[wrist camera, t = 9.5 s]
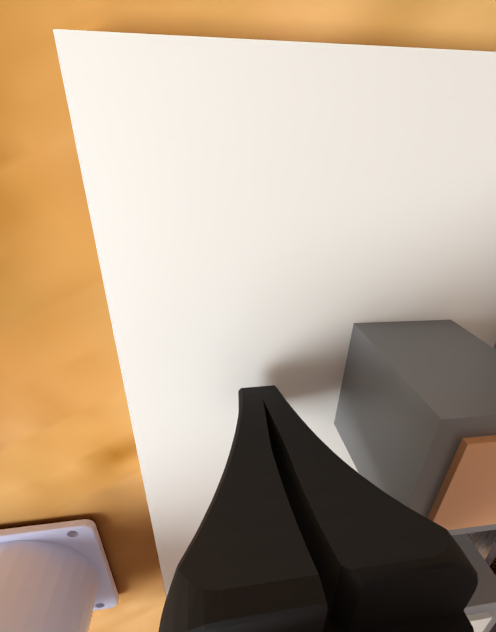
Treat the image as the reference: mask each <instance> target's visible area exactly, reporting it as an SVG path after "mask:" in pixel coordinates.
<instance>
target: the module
mask: <svg viewBox="0 0 496 632" xmlns="http://www.w3.org/2000/svg"><path fill="white" fill-rule="evenodd" d="M334 425H335V427H336V429H337V431H338V433H339V435H340V437H341V439H342V441H343V443H344V445H345V447H346V449H347V451H348V453H349V455H350V457H351V459H352V461H353V463H354V465H355V467H356V469H357V471H358V473H359V474H360V475H362V476H363V477H364V478H366V479H367V480H369V481H370V482H371V483H373V484H374V485H375V486H377V487H378V488H380V489H381V490H382V491H384V492H385V493H387V494H388V495H390V496H391V497H393V498H394V499H396V500H397V501H399V502H401V503H402V504H404V505H405V506H407V507H409V508H410V509H412V510H414V511H415V512H417V513H419V514H421V515H422V516H424V517H426V518H428V519H430V520H431V521H433V522H435V523H437V524H438V525H440V526H442V527H444V528H445V529H447V530H448V532H449V533H450V534H451V535H459V534H466V533H473V532H481V531H488V530H496V349H494V348H493V347H491V346H490V345H488V344H487V343H485V342H484V341H482V340H481V339H479V338H478V337H476V336H475V335H473V334H472V333H470V332H469V331H467V330H466V329H464V328H463V327H461V326H460V325H458V324H457V323H455V322H454V321H452V320H425V321H398V322H370V323H354V324H353V329H352V334H351V339H350V344H349V349H348V354H347V360H346V365H345V370H344V375H343V380H342V385H341V390H340V395H339V400H338V406H337V411H336V416H335V421H334Z"/></svg>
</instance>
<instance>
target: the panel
mask: <svg viewBox="0 0 496 632" xmlns="http://www.w3.org/2000/svg"><path fill="white" fill-rule="evenodd" d="M53 32H54V37H55V42H56V47H57V52H58V57H59V62H60V67H61V72H62V77H63V82H64V87H65V92H66V97H67V102H68V107H69V112H70V117H71V122H72V127H73V132H74V137H75V142H76V147H77V152H78V157H79V162H80V167H81V172H82V177H83V182H84V187H85V192H86V197H87V202H88V207H89V212H90V217H91V222H92V227H93V232H94V237H95V242H96V247H97V252H98V257H99V262H100V267H101V272H102V277H103V283H104V288H105V293H106V298H107V303H108V308H109V313H110V318H111V323H112V328H113V333H114V338H115V343H116V348H117V353H118V358H119V363H120V368H121V373H122V378H123V383H124V388H125V393H126V398H127V403H128V408H129V413H130V418H131V423H132V428H133V433H134V438H135V443H136V448H137V453H138V458H139V463H140V468H141V473H142V478H143V483H144V488H145V493H146V498H147V503H148V508H149V513H150V518H151V523H152V528H153V533H154V538H155V543H156V548H157V553H158V558H159V563H160V568H161V573H162V578H163V583H164V588H165V593H166V598H167V595H168V591H169V588H170V585H171V582H172V579H173V576H174V573H175V570H176V567H177V565H178V563H179V562H180V560H181V558H182V556H183V555H184V553H185V551H186V549H187V548H188V546H189V544H190V543H191V541H192V539H193V537H194V535H195V534H196V532H197V530H198V528H199V526H200V524H201V522H202V520H203V518H204V516H205V514H206V511H207V509H208V507H209V505H210V503H211V501H212V499H213V496H214V494H215V492H216V489H217V487H218V484H219V482H220V479H221V477H222V474H223V471H224V468H225V466H226V463H227V460H228V457H229V453H230V450H231V446H232V442H233V439H234V435H235V430H236V425H237V420H238V413H239V405H238V391H239V390H240V389H241V388H248V387H260V386H272V385H275V386H276V387H277V388H278V390H279V391H280V393H281V394H282V395H283V397H284V398H285V399H286V401H287V402H288V403H289V404H290V406H291V407H292V408H293V409H294V411H295V412H296V413H297V414H298V415H299V417H300V418H301V419H302V420H303V421H304V422H305V423H306V424H307V426H308V427H309V428H310V429H311V430H312V431H313V432H314V433H315V434H316V435H317V436H318V437H319V438H320V439H321V440H322V441H323V442H324V443H325V444H326V445H327V446H328V447H329V448H330V449H331V450H332V451H333V452H334V453H335V454H336V455H337V456H339V457H340V458H341V459H342V460H343V461H344V462H346V463H347V464H348V465H349V466H350V467H352V468H353V469H354V470H355V471H356V472H358V471H357V469H356V467H355V465H354V463H353V461H352V459H351V457H350V455H349V453H348V451H347V449H346V447H345V445H344V443H343V441H342V439H341V437H340V435H339V433H338V431H337V429H336V427H335V425H334V421H335V416H336V411H337V406H338V400H339V395H340V390H341V385H342V380H343V375H344V370H345V365H346V360H347V354H348V349H349V344H350V339H351V334H352V329H353V324H354V323H370V322H398V321H425V320H452V321H454V322H455V323H457V324H458V325H460V326H461V327H463V328H464V329H466V330H467V331H469V332H470V333H472V334H473V335H475V336H476V337H478V338H479V339H481V340H482V341H484V342H485V343H487V344H488V345H490V346H491V347H493V348H494V345H495V343H496V52H490V51H470V50H451V49H431V48H412V47H392V46H373V45H353V44H334V43H314V42H295V41H275V40H256V39H236V38H217V37H197V36H178V35H158V34H139V33H119V32H100V31H80V30H61V29H53Z"/></svg>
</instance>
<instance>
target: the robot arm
mask: <svg viewBox="0 0 496 632" xmlns="http://www.w3.org/2000/svg"><path fill="white" fill-rule="evenodd" d="M238 405H239V413H238V420H237V425H236V430H235V435H234V439H233V442H232V446H231V450H230V453H229V457H228V460H227V463H226V466H225V468H224V471H223V474H222V477H221V479H220V482H219V484H218V487H217V489H216V492H215V494H214V496H213V499H212V501H211V503H210V505H209V507H208V509H207V511H206V514H205V516H204V518H203V520H202V522H201V524H200V526H199V528H198V530H197V532H196V534H195V535H194V537H193V539H192V541H191V543H190V544H189V546H188V548H187V549H186V551H185V553H184V555H183V556H182V558H181V560H180V562H179V563H178V565H177V567H176V570H175V573H174V576H173V579H172V582H171V585H170V588H169V591H168V595H167V598H166V601H165V605H164V608H163V612H162V617H161V621H160V627H159V632H474V629H473V626H472V624H471V623H470V621H469V619H468V617H467V616H466V614H465V612H464V609H465V607H466V606H467V604H468V602H469V601H470V599H471V597H472V596H473V594H474V592H475V590H476V588H477V585H478V573H477V572H476V570H475V568H474V567H473V565H472V564H471V562H470V561H469V559H468V558H467V556H466V555H465V553H464V552H463V550H462V549H461V547H460V546H459V545H458V543H457V542H456V541H455V540H454V538H453V537H452V536H451V534H450V533H449V532H448V530H447V529H445V528H444V527H442V526H440V525H438V524H437V523H435V522H433V521H431V520H430V519H428V518H426V517H424V516H422V515H421V514H419V513H417V512H415V511H414V510H412V509H410V508H409V507H407V506H405V505H404V504H402V503H401V502H399V501H397V500H396V499H394V498H393V497H391V496H390V495H388V494H387V493H385V492H384V491H382V490H381V489H380V488H378V487H377V486H375V485H374V484H373V483H371V482H370V481H369V480H367V479H366V478H364V477H363V476H362V475H360V474H359V473H358V472H356V471H355V470H354V469H353V468H352V467H350V466H349V465H348V464H347V463H346V462H344V461H343V460H342V459H341V458H340V457H339V456H337V455H336V454H335V453H334V452H333V451H332V450H331V449H330V448H329V447H328V446H327V445H326V444H325V443H324V442H323V441H322V440H321V439H320V438H319V437H318V436H317V435H316V434H315V433H314V432H313V431H312V430H311V429H310V428H309V427H308V426H307V424H306V423H305V422H304V421H303V420H302V419H301V418H300V417H299V415H298V414H297V413H296V412H295V411H294V409H293V408H292V407H291V406H290V404H289V403H288V402H287V401H286V399H285V398H284V397H283V395H282V394H281V393H280V391H279V390H278V388H277V387H276V386H275V385H272V386H260V387H248V388H241V389H240V390H239V391H238ZM118 598H119V595H118V592H117V589H116V586H115V583H114V580H113V577H112V573H111V570H110V567H109V564H108V561H107V558H106V555H105V552H104V549H103V546H102V543H101V539H100V536H99V533H98V530H97V527H96V524H95V523H94V522H93V521H92V520H89V519H81V520H73V521H65V522H57V523H49V524H41V525H33V526H25V527H17V528H9V529H0V632H88V630H89V625H90V621H91V617H92V612H93V611H94V610H100V609H106V608H112V607H114V606H116V605H117V603H118Z"/></svg>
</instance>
